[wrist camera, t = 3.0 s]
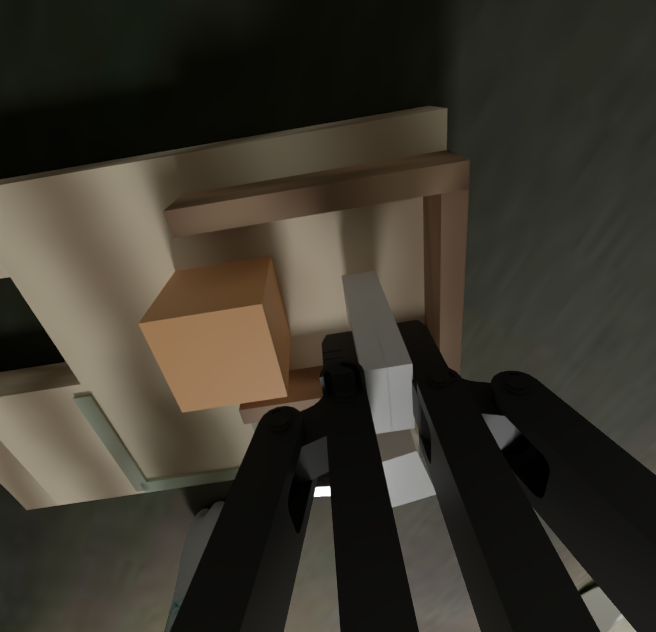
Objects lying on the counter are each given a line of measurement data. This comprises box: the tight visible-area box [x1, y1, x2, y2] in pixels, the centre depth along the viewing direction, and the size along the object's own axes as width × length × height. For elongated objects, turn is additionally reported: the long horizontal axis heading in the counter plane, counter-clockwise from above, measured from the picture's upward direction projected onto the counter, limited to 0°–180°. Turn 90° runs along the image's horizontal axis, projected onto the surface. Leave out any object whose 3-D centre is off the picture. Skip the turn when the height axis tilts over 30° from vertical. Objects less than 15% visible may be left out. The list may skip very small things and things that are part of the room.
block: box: [376, 428, 436, 508], centre depth 22 cm, size 4×4×4 cm
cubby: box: [163, 150, 470, 424], centre depth 17 cm, size 11×11×2 cm
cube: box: [138, 256, 291, 413], centre depth 16 cm, size 4×4×4 cm
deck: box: [0, 106, 447, 510], centre depth 21 cm, size 28×20×3 cm
